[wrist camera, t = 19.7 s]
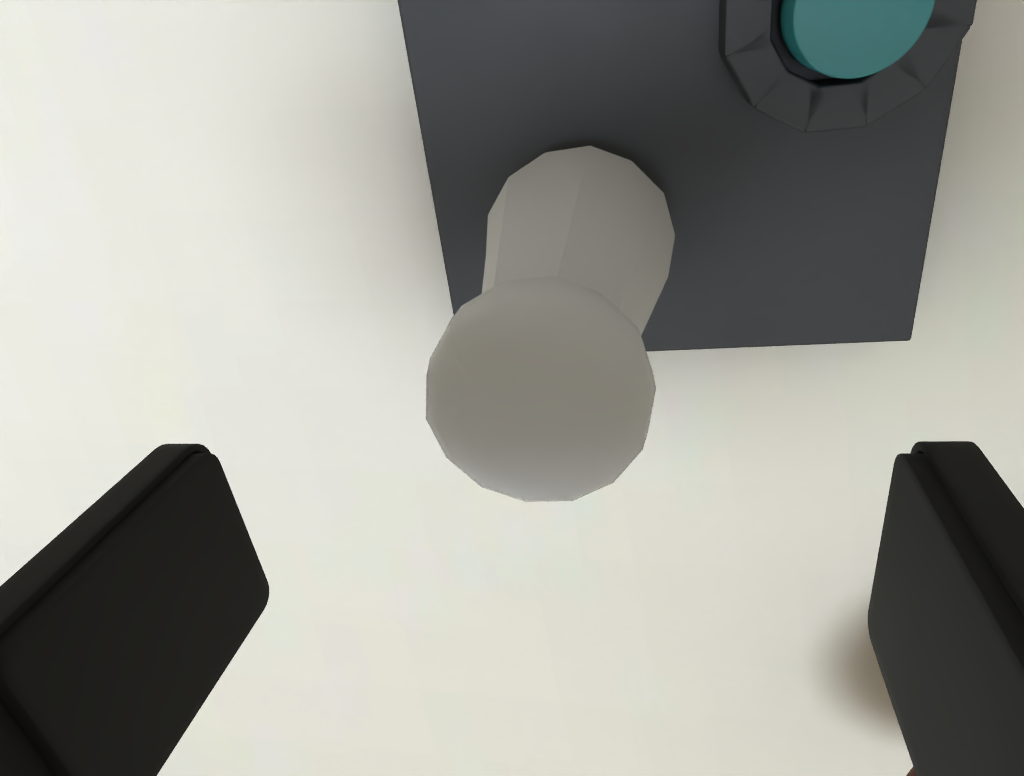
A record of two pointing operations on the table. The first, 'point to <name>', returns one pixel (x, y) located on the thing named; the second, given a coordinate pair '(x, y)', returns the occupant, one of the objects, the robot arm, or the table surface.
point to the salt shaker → (556, 331)
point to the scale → (699, 153)
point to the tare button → (852, 33)
